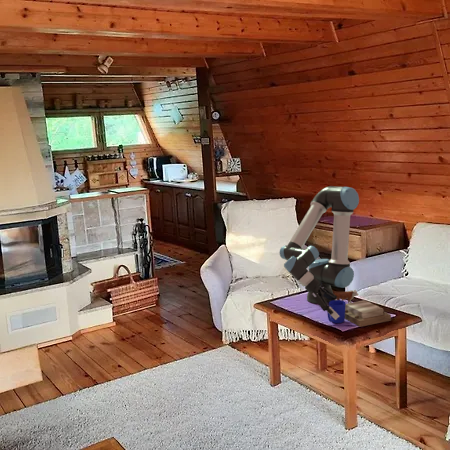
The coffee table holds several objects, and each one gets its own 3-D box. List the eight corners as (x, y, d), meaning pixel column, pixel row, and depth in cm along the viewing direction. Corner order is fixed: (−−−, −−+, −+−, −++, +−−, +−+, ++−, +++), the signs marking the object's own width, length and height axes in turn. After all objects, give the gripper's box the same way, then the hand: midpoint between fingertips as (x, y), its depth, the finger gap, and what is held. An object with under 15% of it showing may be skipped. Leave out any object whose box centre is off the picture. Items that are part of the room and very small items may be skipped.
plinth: (338, 315, 294) (337, 303, 293) (367, 309, 300) (367, 298, 299) (359, 326, 275) (359, 315, 274) (390, 320, 281) (390, 308, 280)
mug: (321, 324, 282) (321, 305, 280) (335, 317, 290) (335, 298, 288) (335, 328, 276) (334, 308, 274) (349, 320, 284) (348, 301, 282)
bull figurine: (358, 305, 306) (358, 290, 305) (333, 305, 309) (333, 291, 308) (358, 302, 311) (358, 288, 309) (333, 302, 314) (333, 288, 312)
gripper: (311, 280, 297) (341, 310, 293) (297, 293, 276) (329, 326, 272) (320, 271, 294) (350, 301, 290) (307, 284, 273) (340, 317, 269)
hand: (340, 313), depth 281 cm, fingers closed on mug, 11 cm apart
